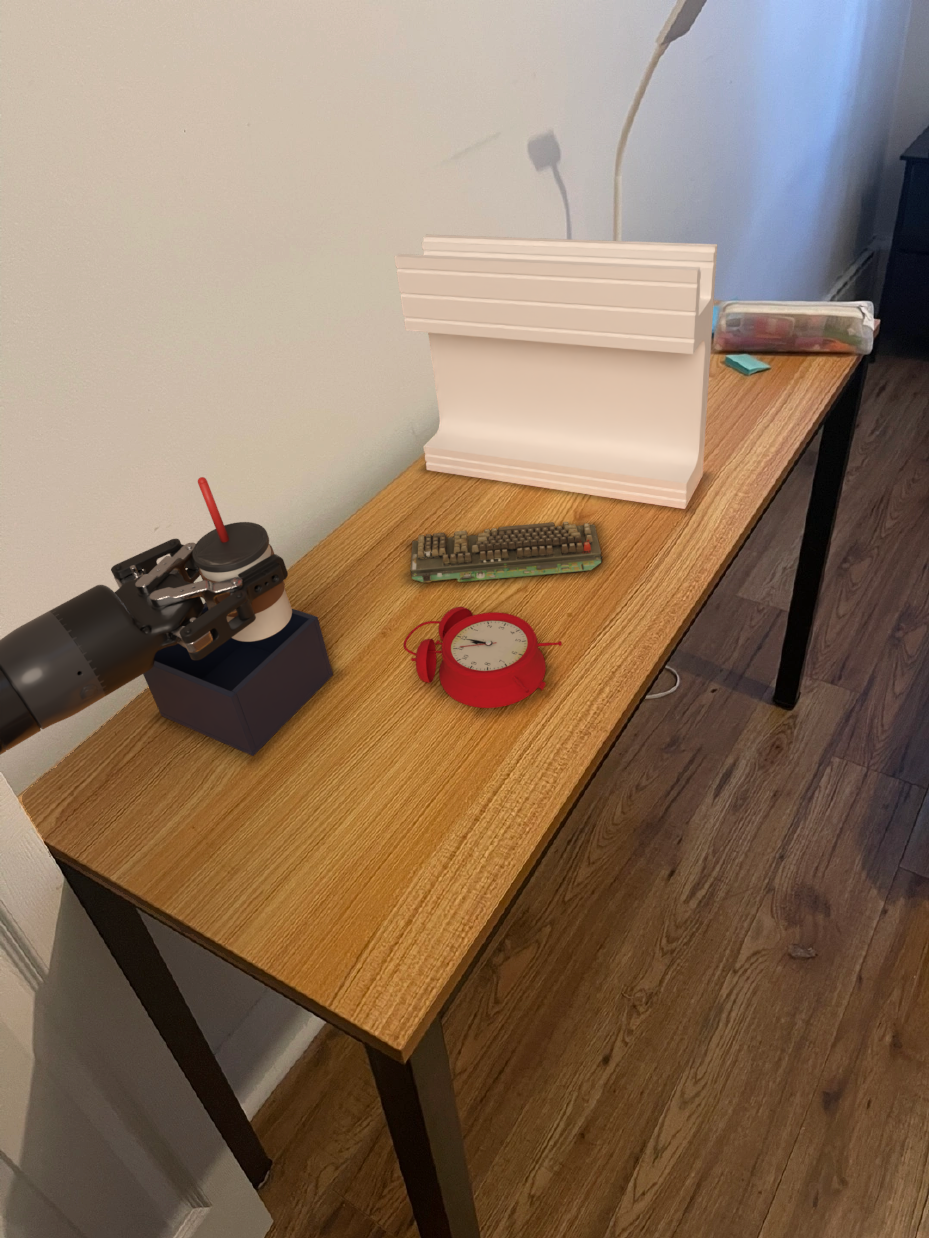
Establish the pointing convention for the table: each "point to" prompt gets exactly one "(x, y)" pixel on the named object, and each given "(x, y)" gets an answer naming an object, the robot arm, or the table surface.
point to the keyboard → (506, 553)
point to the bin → (242, 683)
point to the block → (567, 361)
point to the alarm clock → (483, 658)
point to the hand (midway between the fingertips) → (261, 549)
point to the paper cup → (241, 568)
